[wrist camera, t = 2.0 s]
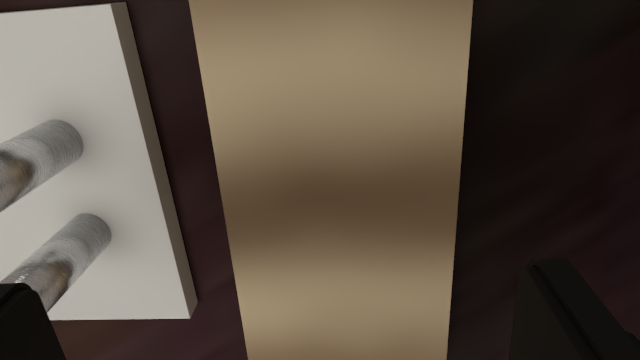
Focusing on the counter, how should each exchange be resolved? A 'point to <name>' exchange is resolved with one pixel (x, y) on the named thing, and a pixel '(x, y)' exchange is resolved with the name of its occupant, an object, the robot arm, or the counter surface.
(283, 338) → the oak shelf board
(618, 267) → the counter surface
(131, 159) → the peg stand
